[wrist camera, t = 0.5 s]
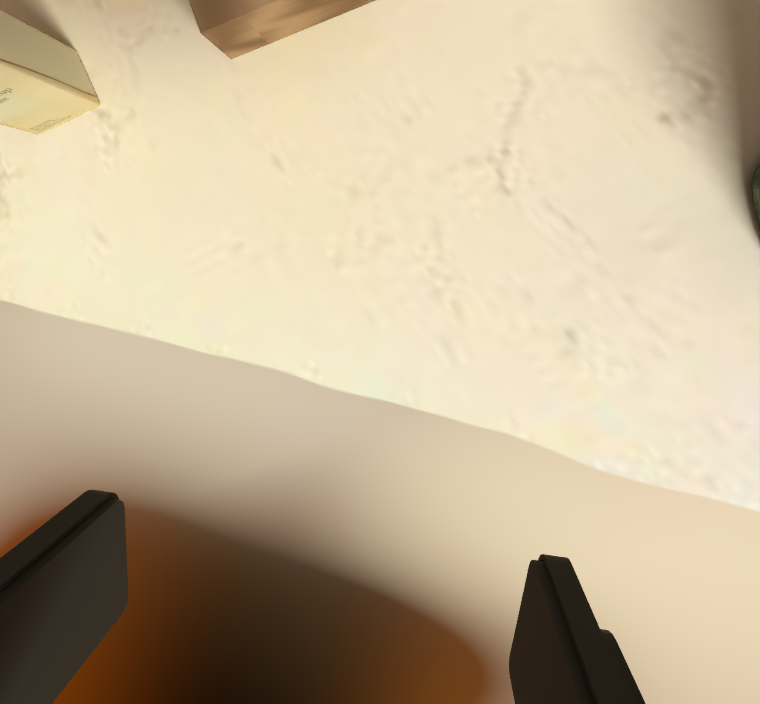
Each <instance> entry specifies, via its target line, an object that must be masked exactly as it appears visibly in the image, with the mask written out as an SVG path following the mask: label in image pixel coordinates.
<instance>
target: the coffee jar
mask: <svg viewBox="0 0 760 704" xmlns="http://www.w3.org/2000/svg"><path fill="white" fill-rule="evenodd" d="M752 192H753V200H754V206H755V212H756V215H757V219H758V222H759V225H760V164H759V165H758V167H757V169H756V171H755V174H754V176H753V181H752Z"/></svg>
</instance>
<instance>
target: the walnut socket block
mask: <svg viewBox="0 0 760 704" xmlns="http://www.w3.org/2000/svg"><path fill="white" fill-rule="evenodd" d="M372 1H375V0H189V2H190V5H191V7H192V10H193V13H194V16H195V19H196V21H197V24H198V27H199V30H200V33H201V34H202V35H204V36H205V37H206V38H207V39H208V40H209V41H211V42H212V43H213V44H214V45H215V46H216V47H218V48H219V49H220V50H221V51H222V52H223V53H225V54H226V55H227V56H228V57H229V58H230V59H233V58H235V57H237V56H240V55H242V54H245V53H247V52H250V51H252V50H255V49H257V48H260V47H262V46H264V45H267V44H269V43H272V42H274V41H277V40H279V39H282V38H284V37H287V36H289V35H291V34H294V33H296V32H299V31H301V30H304V29H306V28H309V27H311V26H313V25H316V24H318V23H321V22H323V21H326V20H328V19H331V18H333V17H336V16H338V15H340V14H343V13H345V12H348V11H350V10H353V9H355V8H358V7H360V6H363V5H365V4H367V3H370V2H372Z"/></svg>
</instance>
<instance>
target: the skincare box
mask: <svg viewBox="0 0 760 704" xmlns="http://www.w3.org/2000/svg"><path fill="white" fill-rule="evenodd" d="M99 105H100V102H99V100H98V98H97V95H96V93H95V91H94V88H93V86H92V84H91V82H90V80H89V77H88V75H87V73H86V71H85V68H84V66H83V64H82V62H81V60H80V58H79V55H78V53H77V51H76V50H74V49H73V48H71V47H69V46H67V45H65V44H63V43H62V42H60V41H58V40H56V39H54V38H52V37H51V36H49V35H47V34H45V33H43V32H41V31H39V30H38V29H36V28H34V27H32V26H30V25H28V24H27V23H25V22H23V21H21V20H19V19H17V18H16V17H14V16H12V15H10V14H8V13H6V12H5V11H3V10H1V9H0V124H1V125H5V126H9V127H13V128H16V129H20V130H24V131H27V132H31V133H35V134H40V133H42V132H44V131H46V130H49V129H51V128H53V127H55V126H57V125H60V124H62V123H64V122H66V121H68V120H70V119H72V118H74V117H77V116H79V115H81V114H83V113H85V112H87V111H89V110H91V109H93V108H95V107H97V106H99Z"/></svg>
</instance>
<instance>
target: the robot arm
mask: <svg viewBox="0 0 760 704" xmlns="http://www.w3.org/2000/svg"><path fill="white" fill-rule="evenodd" d="M127 601H128V578H127V556H126V535H125V512H124V503H123V502H122V501H120V500H119V498H118V496H117V494H115V493H111V492H104V491H97V490H88V491H86V492H85V493H83V494H82V495H81V496H79V497H78V498H77V499H76V500H74V501H73V502H72V503H71V504H69V505H68V506H67V507H65V508H64V509H63V510H61V511H60V512H59V513H58V514H56V515H55V516H54V517H52V518H51V519H50V520H49V521H47V522H46V523H45V524H44V525H42V526H41V527H40V528H38V529H37V530H36V531H35V532H33V533H32V534H31V535H29V536H28V537H27V538H26V539H24V540H23V541H22V542H21V543H19V544H18V545H17V546H16V547H14V548H13V549H12V550H10V551H9V552H8V553H6V554H5V555H4V556H3V557H1V558H0V704H52V703H53V702H54V700H55V699H56V698H57V696H58V695H59V694H60V693H61V691H62V690H63V689H64V688H65V686H66V685H67V684H68V682H69V681H70V680H71V679H72V677H73V676H74V675H75V673H76V672H77V671H78V670H79V668H80V667H81V666H82V665H83V663H84V662H85V661H86V659H87V658H88V657H89V656H90V654H91V653H92V652H93V650H94V649H95V648H96V647H97V645H98V644H99V643H100V641H101V640H102V639H103V638H104V636H105V635H106V634H107V632H108V631H109V630H110V629H111V627H112V626H113V625H114V624H115V622H116V621H117V620H118V618H119V617H120V616H121V614H122V613H123V611H124V609H125V607H126V605H127ZM509 672H510V679H511V684H512V690H513V695H514V700H515V704H645V702H644V700H643V697H642V695H641V693H640V691H639V689H638V687H637V684H636V682H635V680H634V678H633V676H632V674H631V672H630V669H629V667H628V665H627V663H626V661H625V659H624V656H623V654H622V652H621V650H620V648H619V646H618V643H617V641H616V639H615V638H614V636H613V634H612V633H610V632H609V631H608V630H602V629H600V628H599V626H598V623H597V621H596V619H595V617H594V614H593V612H592V610H591V608H590V605H589V603H588V601H587V598H586V596H585V594H584V592H583V589H582V587H581V584H580V582H579V580H578V578H577V575H576V573H575V571H574V568H573V566H572V564H571V562H570V560H569V559H568V558H565V557H558V556H551V555H544V554H542V555H540V557H539V559H538V561H537V560H532V561H531V562H530V564H529V568H528V573H527V578H526V583H525V588H524V592H523V596H522V601H521V606H520V611H519V615H518V620H517V624H516V629H515V634H514V639H513V643H512V648H511V653H510V658H509Z"/></svg>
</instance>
